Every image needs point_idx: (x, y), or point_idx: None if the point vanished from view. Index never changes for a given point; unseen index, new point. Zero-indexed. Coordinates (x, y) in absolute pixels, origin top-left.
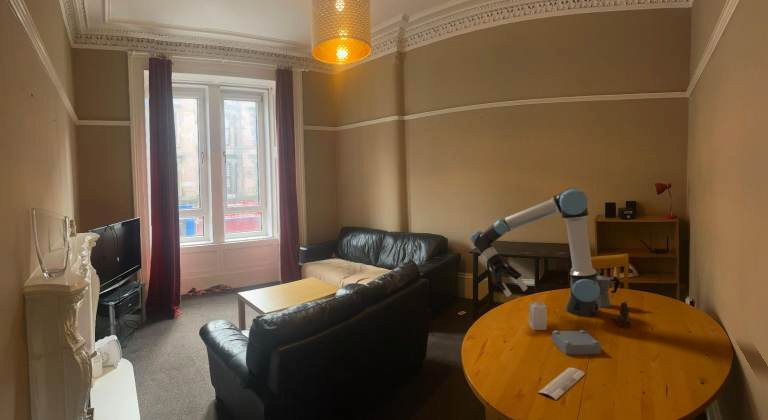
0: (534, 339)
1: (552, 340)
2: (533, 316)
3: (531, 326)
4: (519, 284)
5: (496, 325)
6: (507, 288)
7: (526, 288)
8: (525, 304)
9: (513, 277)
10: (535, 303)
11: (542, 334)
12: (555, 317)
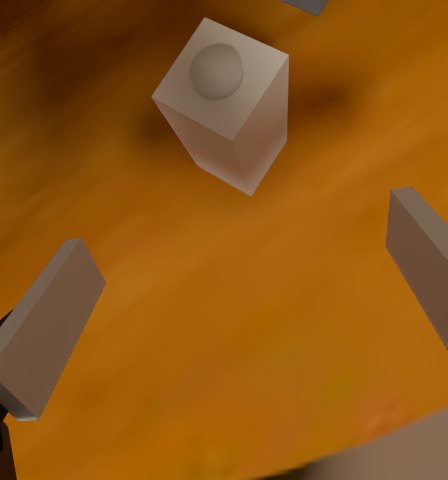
0: (381, 57)
1: (321, 9)
2: (286, 100)
3: (271, 161)
4: (67, 339)
5: None
6: (436, 235)
7: (82, 244)
8: None
9: (11, 475)
10: (240, 66)
11: (297, 81)
12: (64, 194)
